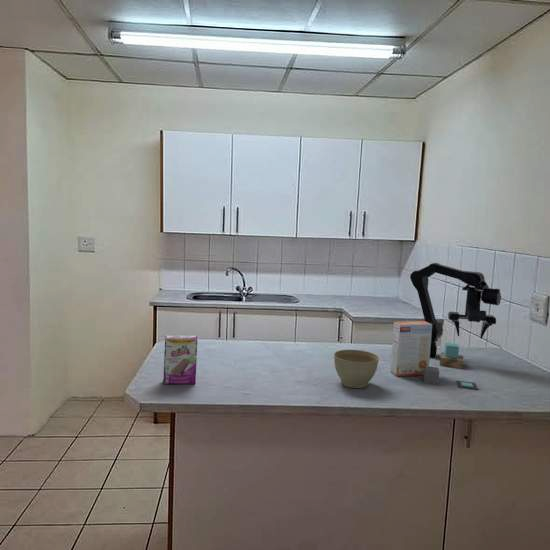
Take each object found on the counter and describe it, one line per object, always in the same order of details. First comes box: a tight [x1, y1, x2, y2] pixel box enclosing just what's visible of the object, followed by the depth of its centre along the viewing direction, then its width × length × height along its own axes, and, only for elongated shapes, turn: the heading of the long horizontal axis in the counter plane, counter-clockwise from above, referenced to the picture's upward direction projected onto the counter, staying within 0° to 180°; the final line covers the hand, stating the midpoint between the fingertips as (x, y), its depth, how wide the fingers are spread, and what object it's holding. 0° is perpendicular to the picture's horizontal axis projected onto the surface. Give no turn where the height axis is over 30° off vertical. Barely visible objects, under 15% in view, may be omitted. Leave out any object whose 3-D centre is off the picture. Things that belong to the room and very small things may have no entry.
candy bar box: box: [163, 334, 198, 385], centre depth 174 cm, size 11×5×16 cm, turn 102°
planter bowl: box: [333, 349, 380, 389], centre depth 182 cm, size 16×16×11 cm
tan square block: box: [439, 351, 464, 370], centre depth 214 cm, size 9×9×4 cm
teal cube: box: [443, 342, 460, 358], centre depth 214 cm, size 5×5×5 cm
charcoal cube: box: [423, 366, 440, 385], centre depth 191 cm, size 5×5×5 cm
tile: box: [455, 380, 479, 391], centre depth 188 cm, size 7×7×1 cm
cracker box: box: [390, 320, 432, 377], centre depth 197 cm, size 14×6×21 cm, turn 103°
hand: (469, 337), depth 215 cm, fingers open, 9 cm apart
